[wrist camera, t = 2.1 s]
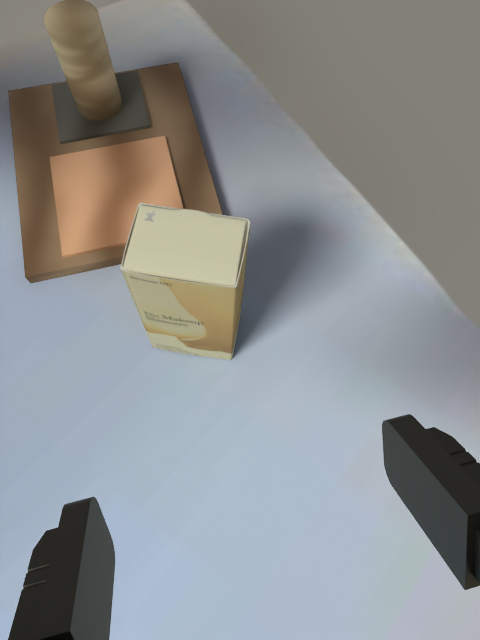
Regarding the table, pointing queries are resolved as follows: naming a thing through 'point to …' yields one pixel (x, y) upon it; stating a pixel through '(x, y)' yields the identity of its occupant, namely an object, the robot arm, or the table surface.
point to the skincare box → (187, 277)
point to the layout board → (99, 150)
